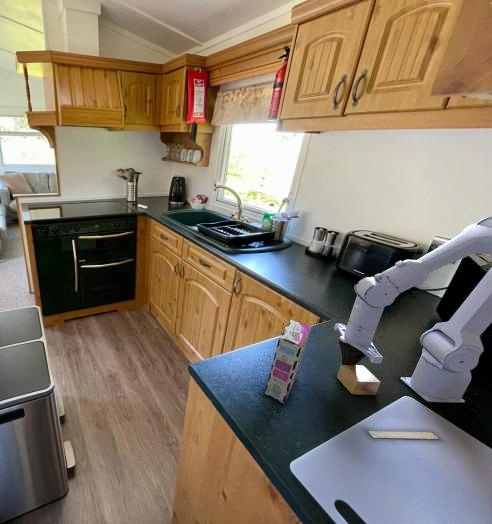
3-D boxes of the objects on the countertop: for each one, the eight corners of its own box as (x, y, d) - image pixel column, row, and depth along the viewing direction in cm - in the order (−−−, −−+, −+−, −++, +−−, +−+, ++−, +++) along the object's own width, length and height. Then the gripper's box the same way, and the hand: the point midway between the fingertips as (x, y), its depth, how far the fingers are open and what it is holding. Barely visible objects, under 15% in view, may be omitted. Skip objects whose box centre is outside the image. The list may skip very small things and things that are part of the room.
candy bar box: (285, 405, 67) (302, 346, 61) (263, 394, 70) (277, 337, 64) (297, 379, 75) (312, 325, 70) (277, 370, 78) (290, 318, 73)
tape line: (431, 432, 62) (431, 432, 62) (438, 439, 60) (438, 438, 60) (367, 431, 61) (367, 431, 61) (373, 437, 60) (373, 437, 60)
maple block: (358, 377, 77) (363, 365, 76) (375, 394, 71) (381, 382, 70) (336, 377, 77) (340, 364, 76) (352, 394, 71) (356, 381, 70)
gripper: (329, 309, 79) (316, 350, 84) (368, 340, 66) (351, 387, 70) (354, 310, 80) (340, 351, 84) (398, 341, 66) (379, 388, 71)
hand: (347, 367), depth 77 cm, fingers closed
